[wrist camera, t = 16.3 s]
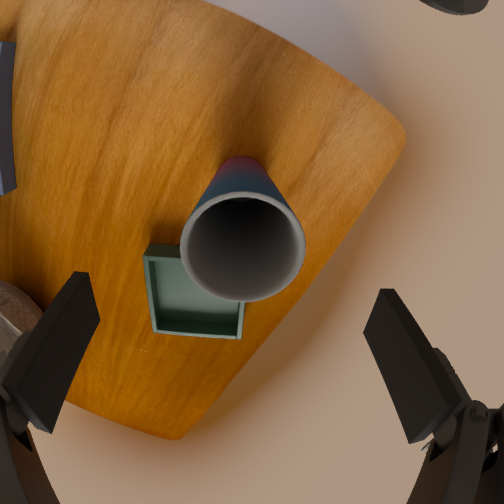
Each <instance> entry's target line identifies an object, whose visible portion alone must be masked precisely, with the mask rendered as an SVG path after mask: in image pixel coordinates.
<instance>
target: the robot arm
mask: <svg viewBox="0 0 504 504" xmlns="http://www.w3.org/2000/svg"><path fill="white" fill-rule="evenodd" d="M99 322H100V317H99V313H98V310H97V306H96V302H95V298H94V294H93V290H92V286H91V282H90V277H89V273H87V272H77V271H74V273H73V274H72V275H71V277H70V278H69V279H68V280H67V282H66V283H65V284H64V286H63V287H62V288H61V290H60V291H59V293H58V294H57V295H56V297H55V298H54V299H53V301H52V302H51V304H50V305H49V307H48V308H47V309H46V311H45V312H44V314H43V315H42V317H41V318H40V320H39V321H38V323H37V324H36V326H35V327H34V329H33V330H32V331H30V330H26V331H25V332H24V333H23V334H21V335H20V336H19V337H18V338H17V340H16V341H15V343H14V344H13V346H12V348H11V349H10V351H9V352H8V356H6V357H5V359H4V361H3V362H2V364H1V366H0V504H60V503H59V501H58V499H57V497H56V495H55V492H54V490H53V488H52V486H51V484H50V482H49V480H48V477H47V475H46V473H45V470H44V468H43V466H42V463H41V460H40V458H39V456H38V453H37V450H36V447H35V444H34V442H33V438H32V435H31V432H30V430H29V428H28V427H27V425H28V422H29V421H30V422H31V423H32V424H33V425H34V426H35V427H36V428H37V429H40V430H42V431H45V432H48V433H50V434H52V432H53V429H54V427H55V424H56V421H57V418H58V415H59V413H60V410H61V408H62V405H63V402H64V400H65V397H66V395H67V392H68V390H69V387H70V385H71V383H72V380H73V378H74V376H75V373H76V371H77V369H78V366H79V364H80V362H81V360H82V357H83V355H84V353H85V351H86V349H87V346H88V344H89V342H90V340H91V338H92V336H93V334H94V332H95V330H96V328H97V326H98V324H99ZM363 334H364V336H365V338H366V340H367V343H368V345H369V347H370V349H371V351H372V354H373V356H374V358H375V360H376V362H377V365H378V367H379V369H380V372H381V374H382V377H383V379H384V381H385V384H386V386H387V389H388V391H389V394H390V396H391V398H392V401H393V403H394V406H395V408H396V411H397V413H398V416H399V419H400V421H401V424H402V426H403V429H404V432H405V434H406V437H407V440H408V443H409V444H412V443H415V442H418V441H422V440H424V439H425V438H426V437H427V436H429V435H430V434H431V433H433V435H434V438H433V439H432V440H431V441H430V442H428V443H427V444H426V445H425V446H424V447H423V448H422V450H421V452H423V451H425V450H426V449H427V448H428V447H429V448H428V451H427V452H426V457H425V460H424V462H423V465H422V468H421V470H420V473H419V476H418V478H417V481H416V483H415V485H414V488H413V490H412V493H411V495H410V497H409V499H408V501H407V503H406V504H504V403H503V405H502V406H501V407H500V408H499V409H488V408H487V407H486V406H485V405H484V404H483V403H482V402H480V401H477V400H473V401H472V400H471V398H470V397H469V395H468V393H467V391H466V389H465V388H464V386H463V384H462V382H461V381H460V379H459V377H458V375H457V374H455V370H454V369H453V367H452V366H451V364H450V362H449V360H448V359H447V357H446V355H445V354H444V353H442V352H441V351H440V350H439V349H438V348H432V346H431V344H430V343H429V341H428V340H427V338H426V336H425V335H424V333H423V332H422V330H421V328H420V327H419V325H418V324H417V322H416V321H415V319H414V318H413V316H412V315H411V313H410V312H409V310H408V309H407V307H406V306H405V304H404V303H403V301H402V300H401V298H400V297H399V295H398V294H397V292H396V291H395V290H394V289H380V291H379V294H378V297H377V299H376V302H375V304H374V307H373V310H372V312H371V314H370V317H369V319H368V322H367V324H366V327H365V329H364V331H363ZM496 444H497V446H498V450H497V451H495V452H493V447H494V446H495V445H496Z"/></svg>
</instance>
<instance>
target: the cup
mask: <svg viewBox="0 0 504 504" xmlns="http://www.w3.org/2000/svg"><path fill="white" fill-rule="evenodd" d="M305 248H306V242H305V236H304V231H303V229H302V227H301V224H300V222H299V220H298V219H297V217H296V216H295V214H294V213H293V211H292V210H291V208H290V207H289V205H288V204H287V202H286V201H285V199H284V198H283V196H282V195H281V193H280V192H279V190H278V189H277V187H276V186H275V184H274V183H273V181H272V180H271V178H270V177H269V176H268V174H267V173H266V171H265V170H264V168H263V167H262V166H261V164H260V163H259V162H257V161H256V160H254V159H253V158H250V157H247V156H236V157H232V158H230V159H228V160H227V161H225V162H224V163H223V164H222V165H221V167H220V168H219V170H218V171H217V173H216V174H215V176H214V178H213V179H212V181H211V182H210V184H209V186H208V187H207V189H206V190H205V192H204V194H203V195H202V197H201V199H200V200H199V202H198V203H197V205H196V207H195V208H194V210H193V212H192V213H191V215H190V217H189V219H188V220H187V222H186V224H185V226H184V228H183V231H182V235H181V239H180V254H181V259H182V263H183V265H184V267H185V270H186V272H187V273H188V275H189V276H190V278H191V279H192V280H193V281H194V282H195V283H196V284H197V285H198V286H199V287H200V288H201V289H202V290H204V291H205V292H207V293H208V294H210V295H213V296H215V297H217V298H219V299H223V300H227V301H232V302H253V301H258V300H262V299H265V298H268V297H270V296H273V295H275V294H276V293H278V292H280V291H281V290H283V289H284V288H285V287H286V286H287V285H288V284H290V283H291V282H292V280H293V279H294V278H295V277H296V275H297V274H298V272H299V270H300V268H301V266H302V264H303V260H304V256H305Z"/></svg>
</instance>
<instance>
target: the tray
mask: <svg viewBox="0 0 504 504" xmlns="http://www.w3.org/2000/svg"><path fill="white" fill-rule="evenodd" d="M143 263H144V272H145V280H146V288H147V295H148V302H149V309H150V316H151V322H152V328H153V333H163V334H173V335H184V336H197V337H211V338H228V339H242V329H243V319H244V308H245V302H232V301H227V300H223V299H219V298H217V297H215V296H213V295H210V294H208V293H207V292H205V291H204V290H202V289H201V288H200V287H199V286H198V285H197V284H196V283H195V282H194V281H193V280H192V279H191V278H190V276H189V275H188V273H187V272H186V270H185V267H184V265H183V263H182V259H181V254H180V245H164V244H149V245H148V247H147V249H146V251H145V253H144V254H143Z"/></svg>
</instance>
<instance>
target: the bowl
mask: <svg viewBox="0 0 504 504" xmlns="http://www.w3.org/2000/svg"><path fill="white" fill-rule="evenodd" d="M43 314H44V313H43V312H42V310H41V309H40V308H39V307H38V305H37V304H36V303H35V302H34V301H33V300H32V299H31V298H30V297H29V296H28V295H27V294H26V293H25V292H23V291H22V290H20V289H19V288H18V287H16V286H15V285H13V284H11V283H8V282H6V281H3V280H0V366H1V364H2V362H3V361H4V359H5V357H6V356H8V352H9V351H10V349H11V348H12V346H13V344H14V343H15V341H16V340H17V338H18V337H19V336H20V335H21V334H23V333H24V332H25V331H26V330H30V331H32V330H33V329H34V327H35V326H36V324H37V323H38V321H39V320H40V318H41V317H42V315H43Z"/></svg>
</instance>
